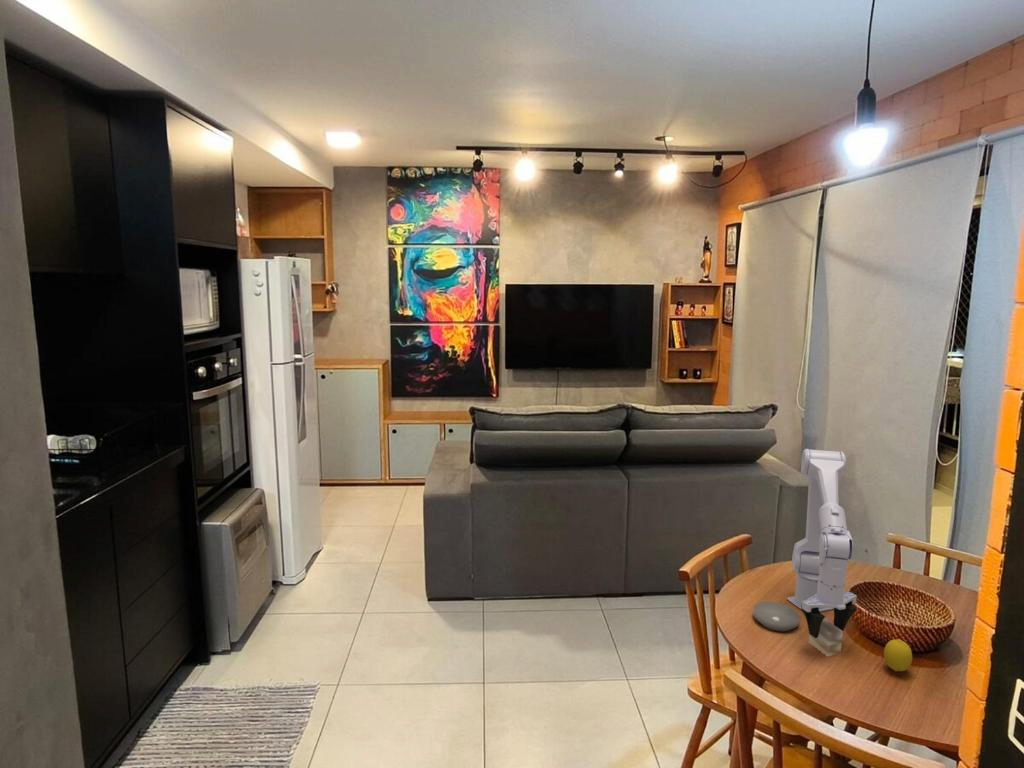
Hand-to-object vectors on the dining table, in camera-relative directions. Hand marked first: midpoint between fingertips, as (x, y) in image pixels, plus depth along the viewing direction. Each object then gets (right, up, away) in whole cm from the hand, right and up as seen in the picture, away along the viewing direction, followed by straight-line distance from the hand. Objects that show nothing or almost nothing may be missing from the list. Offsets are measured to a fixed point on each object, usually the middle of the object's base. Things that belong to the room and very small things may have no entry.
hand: (825, 633), depth 151 cm
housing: (0, -4, +1) cm, 4 cm away
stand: (-7, -2, +12) cm, 14 cm away
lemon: (+12, -6, -8) cm, 16 cm away
